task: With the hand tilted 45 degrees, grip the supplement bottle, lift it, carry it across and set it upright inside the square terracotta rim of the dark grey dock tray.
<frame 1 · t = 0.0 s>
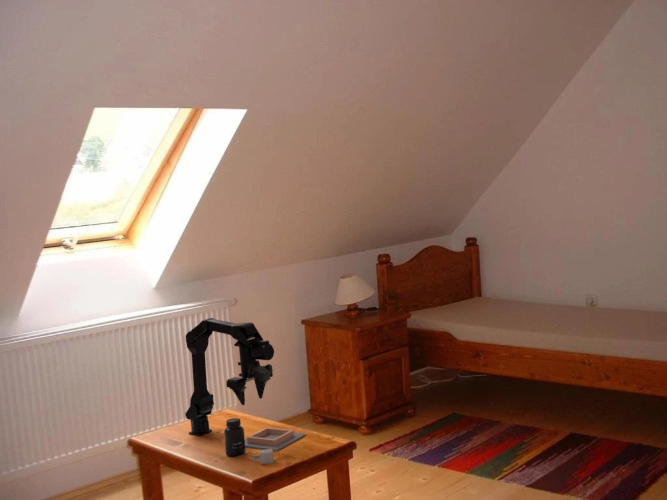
hand: (252, 401, 285), 15 cm above the table, tool pointing down, fingers open, 9 cm apart
usb wall charger: (263, 463, 262), on the table
supplement bottle: (236, 454, 274), on the table
dock tray: (271, 440, 285), on the table
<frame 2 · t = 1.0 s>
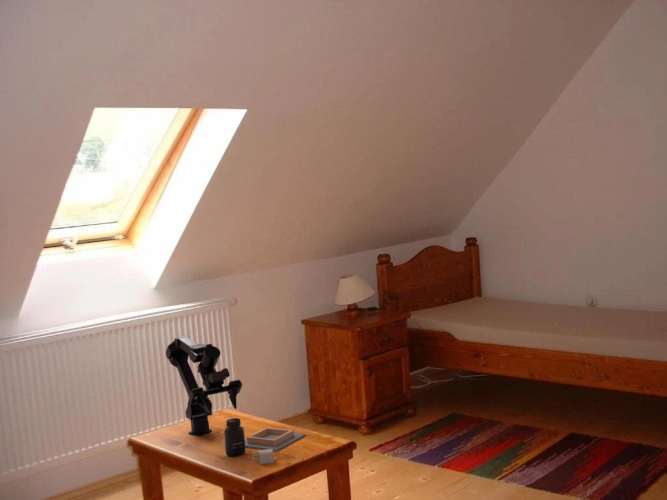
hand: (223, 411, 280), 13 cm above the table, tool tilted 45°, fingers open, 9 cm apart
nothing on the table moved.
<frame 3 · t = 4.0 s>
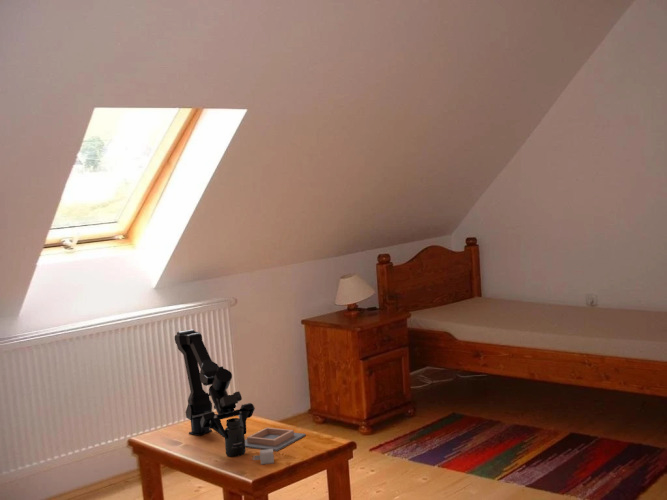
hand: (236, 436, 272), 7 cm above the table, tool tilted 45°, fingers closed on supplement bottle, 7 cm apart
supplement bottle: (236, 454, 274), on the table, touching gripper
everything else where it was.
when the fingers open (9 cm above the table, at t = 8.3 s): supplement bottle drops 2 cm, resting on dock tray.
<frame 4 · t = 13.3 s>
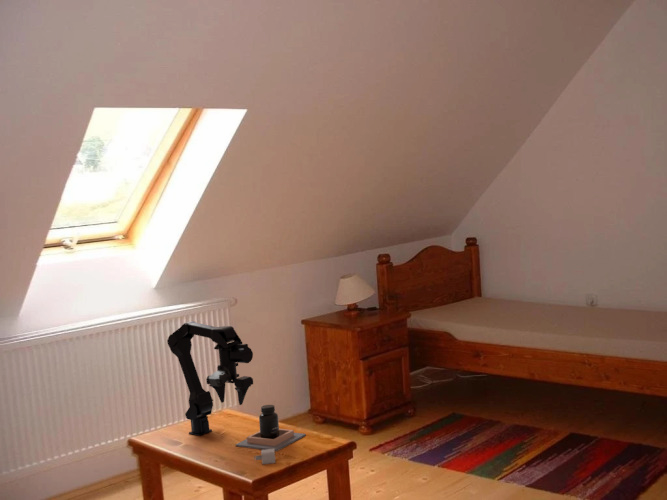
hand: (231, 403, 291), 13 cm above the table, tool pointing down, fingers open, 9 cm apart
supplement bottle: (270, 439, 285), resting on dock tray
everything else where it was.
at the end: supplement bottle 0.2 cm off-centre on the dock tray, point 0.4 cm above the dock tray's base; supplement bottle tilted 0°; the gripper is holding nothing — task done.
